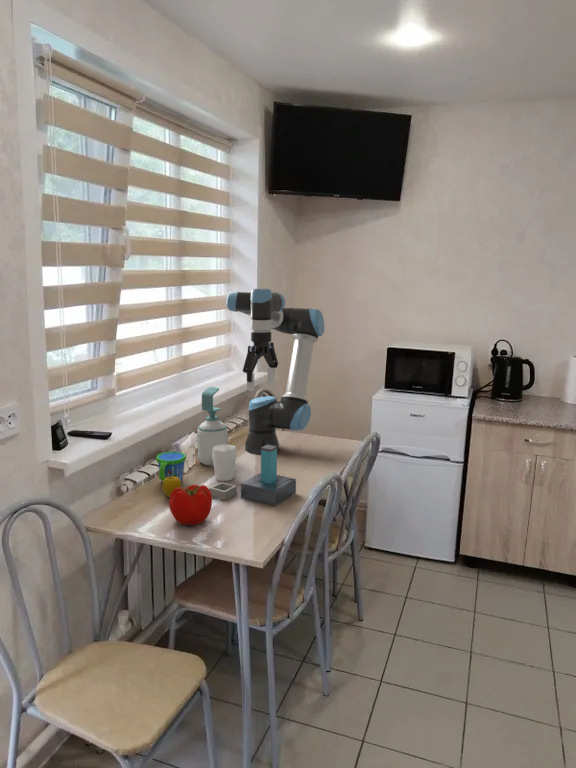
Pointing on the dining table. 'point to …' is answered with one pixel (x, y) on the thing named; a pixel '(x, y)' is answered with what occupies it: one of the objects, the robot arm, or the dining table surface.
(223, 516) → the dining table surface
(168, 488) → the apple
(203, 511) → the tomato
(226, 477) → the cup
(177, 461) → the snack cup
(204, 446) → the soap bottle
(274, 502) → the port
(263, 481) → the plug
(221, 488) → the holster
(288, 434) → the dining table surface
